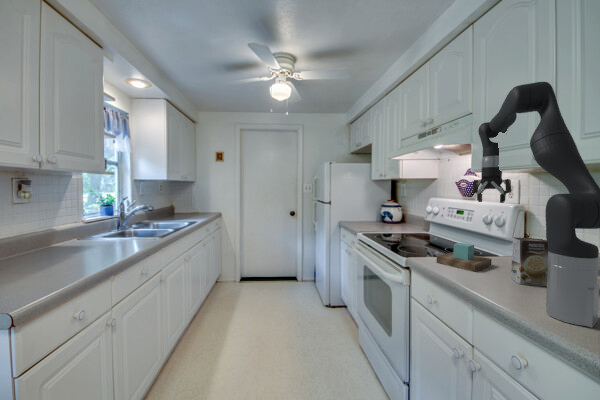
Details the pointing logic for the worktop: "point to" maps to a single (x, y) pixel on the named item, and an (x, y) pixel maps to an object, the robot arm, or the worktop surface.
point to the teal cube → (463, 251)
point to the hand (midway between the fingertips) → (490, 202)
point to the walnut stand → (464, 262)
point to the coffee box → (529, 261)
